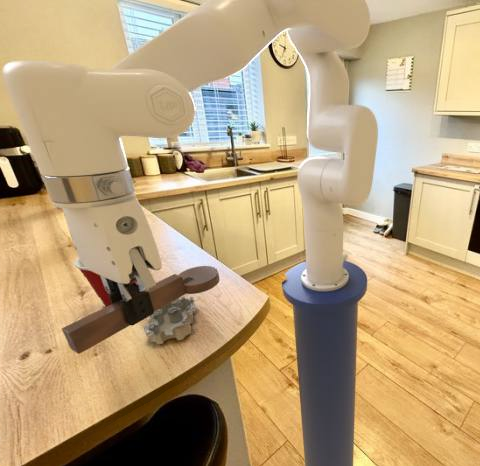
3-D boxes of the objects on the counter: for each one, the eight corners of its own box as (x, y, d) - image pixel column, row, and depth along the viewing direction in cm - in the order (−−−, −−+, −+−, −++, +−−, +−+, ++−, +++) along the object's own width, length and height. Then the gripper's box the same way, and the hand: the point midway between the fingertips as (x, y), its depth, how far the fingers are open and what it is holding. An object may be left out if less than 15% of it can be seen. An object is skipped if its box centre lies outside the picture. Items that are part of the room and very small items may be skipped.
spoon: (89, 361, 33) (79, 339, 32) (61, 342, 36) (51, 322, 34) (227, 279, 50) (225, 262, 49) (202, 270, 52) (199, 254, 51)
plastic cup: (159, 301, 66) (146, 254, 61) (99, 325, 58) (78, 274, 53) (144, 283, 72) (131, 240, 67) (89, 303, 65) (69, 255, 60)
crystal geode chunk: (190, 340, 55) (185, 323, 53) (144, 348, 53) (138, 330, 51) (199, 306, 64) (196, 290, 63) (161, 312, 62) (156, 296, 60)
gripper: (169, 188, 33) (198, 317, 40) (94, 174, 39) (131, 288, 46) (91, 204, 27) (142, 354, 34) (17, 185, 33) (74, 315, 40)
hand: (136, 315), depth 40 cm, fingers closed on spoon
